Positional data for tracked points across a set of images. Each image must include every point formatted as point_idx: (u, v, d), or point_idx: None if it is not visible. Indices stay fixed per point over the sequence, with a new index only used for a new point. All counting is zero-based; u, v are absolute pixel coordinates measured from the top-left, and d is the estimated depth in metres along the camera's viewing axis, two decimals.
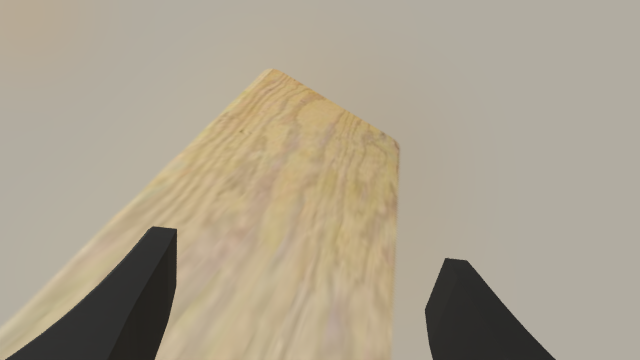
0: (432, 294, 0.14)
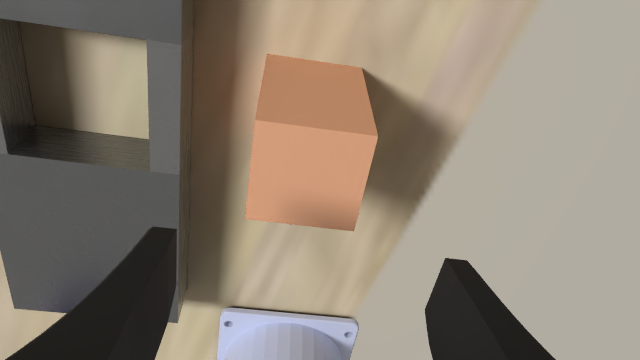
0: (432, 294, 0.14)
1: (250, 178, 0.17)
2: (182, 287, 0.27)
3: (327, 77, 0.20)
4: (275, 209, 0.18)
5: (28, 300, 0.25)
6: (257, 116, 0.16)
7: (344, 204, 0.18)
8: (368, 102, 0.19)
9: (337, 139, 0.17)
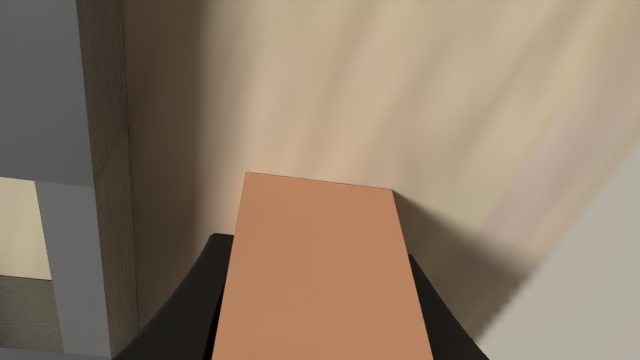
0: None
1: None
2: None
3: (340, 220, 0.13)
4: None
5: None
6: (216, 351, 0.09)
7: None
8: (410, 279, 0.11)
9: None
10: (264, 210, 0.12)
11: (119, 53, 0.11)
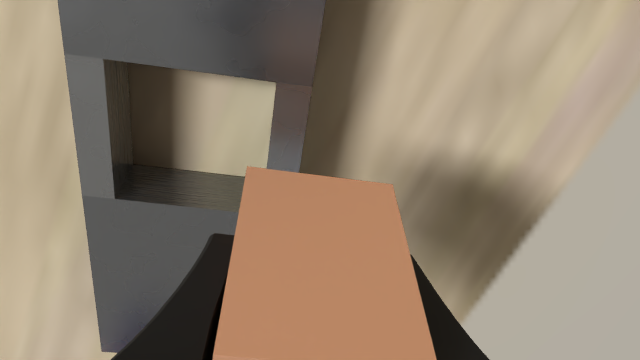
0: None
1: None
2: None
3: (341, 213, 0.13)
4: None
5: (117, 343, 0.24)
6: (218, 342, 0.09)
7: None
8: (411, 272, 0.11)
9: None
10: (265, 204, 0.12)
11: None
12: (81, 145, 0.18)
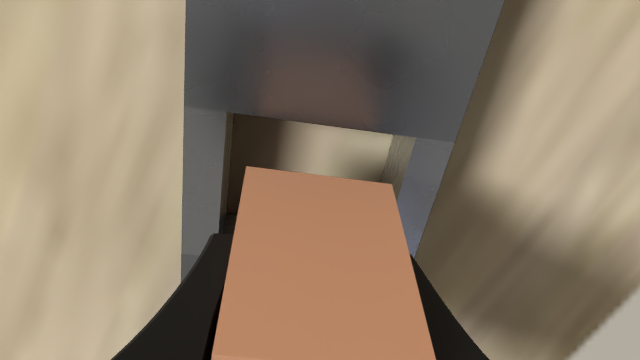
0: None
1: None
2: None
3: (340, 213, 0.13)
4: None
5: None
6: (217, 342, 0.09)
7: None
8: (411, 271, 0.11)
9: None
10: (265, 204, 0.12)
11: None
12: (188, 202, 0.16)
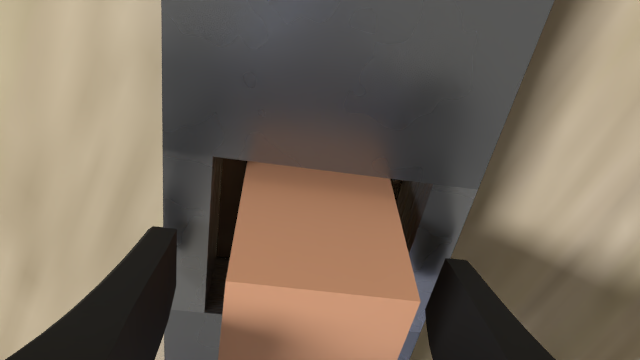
0: (432, 294, 0.14)
1: (221, 353, 0.11)
2: None
3: (337, 175, 0.14)
4: None
5: None
6: (230, 272, 0.10)
7: None
8: (398, 223, 0.13)
9: (357, 304, 0.11)
10: (269, 166, 0.14)
11: None
12: None
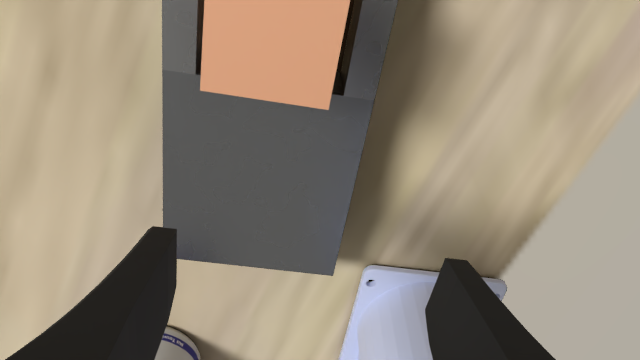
0: (432, 294, 0.14)
1: (204, 34, 0.15)
2: None
3: None
4: (235, 78, 0.15)
5: (180, 248, 0.23)
6: None
7: (316, 72, 0.15)
8: None
9: None
10: None
11: None
12: (168, 9, 0.18)
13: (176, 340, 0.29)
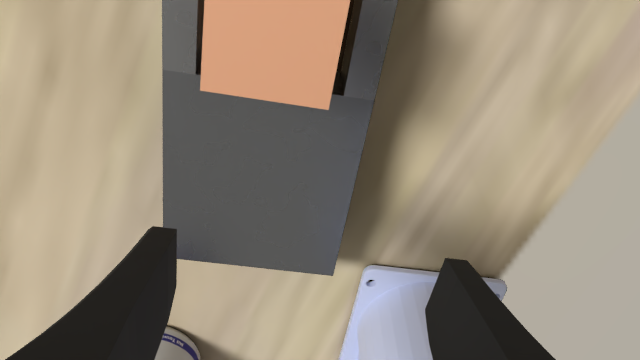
0: (432, 294, 0.14)
1: (204, 34, 0.15)
2: None
3: None
4: (235, 78, 0.15)
5: (180, 248, 0.23)
6: None
7: (316, 72, 0.15)
8: None
9: None
10: None
11: None
12: (168, 9, 0.18)
13: (176, 340, 0.29)
